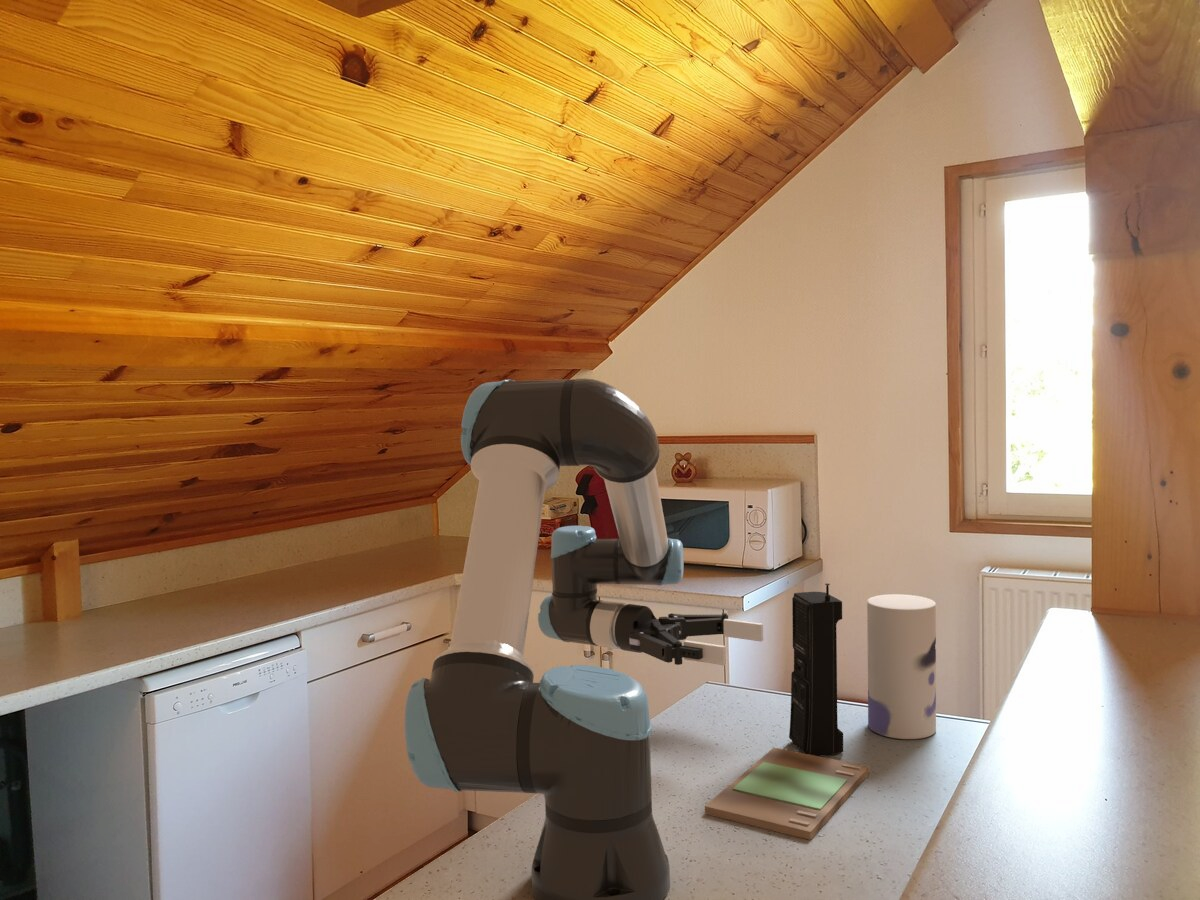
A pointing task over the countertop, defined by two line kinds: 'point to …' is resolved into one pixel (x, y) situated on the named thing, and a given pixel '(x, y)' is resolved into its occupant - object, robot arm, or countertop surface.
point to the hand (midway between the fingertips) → (744, 643)
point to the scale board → (788, 792)
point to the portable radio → (815, 674)
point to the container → (901, 666)
